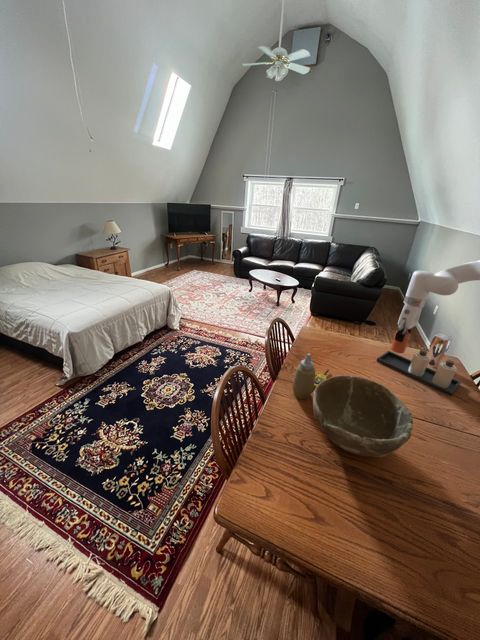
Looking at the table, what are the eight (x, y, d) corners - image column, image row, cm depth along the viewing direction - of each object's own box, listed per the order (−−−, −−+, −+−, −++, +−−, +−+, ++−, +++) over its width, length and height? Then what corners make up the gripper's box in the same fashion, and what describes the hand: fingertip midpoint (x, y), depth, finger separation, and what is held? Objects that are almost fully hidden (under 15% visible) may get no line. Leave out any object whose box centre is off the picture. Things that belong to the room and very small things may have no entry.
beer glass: (422, 365, 124) (434, 337, 117) (423, 359, 129) (434, 331, 123) (440, 371, 120) (453, 342, 114) (440, 364, 125) (453, 336, 119)
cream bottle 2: (450, 384, 111) (461, 362, 106) (446, 390, 107) (456, 367, 103) (434, 377, 115) (444, 355, 110) (429, 382, 111) (439, 360, 107)
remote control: (309, 381, 106) (323, 365, 117) (308, 385, 107) (322, 368, 118) (320, 387, 104) (334, 369, 114) (319, 391, 104) (333, 373, 115)
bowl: (360, 501, 67) (376, 460, 61) (289, 427, 87) (295, 391, 81) (417, 452, 81) (435, 415, 74) (344, 398, 101) (353, 365, 95)
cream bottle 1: (425, 373, 117) (434, 351, 113) (420, 378, 114) (429, 356, 109) (411, 366, 121) (419, 346, 117) (405, 371, 118) (413, 350, 113)
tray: (459, 386, 111) (461, 382, 110) (450, 397, 104) (452, 393, 103) (387, 354, 131) (388, 350, 131) (375, 362, 125) (377, 358, 124)
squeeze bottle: (305, 404, 97) (313, 363, 89) (286, 394, 102) (292, 354, 94) (316, 394, 103) (324, 354, 95) (298, 384, 107) (304, 345, 100)
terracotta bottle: (406, 350, 121) (414, 329, 116) (401, 354, 118) (409, 332, 113) (393, 345, 125) (400, 324, 120) (388, 348, 122) (395, 327, 117)
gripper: (416, 308, 104) (401, 348, 111) (432, 299, 114) (418, 336, 121) (396, 302, 109) (383, 340, 116) (413, 294, 119) (400, 330, 126)
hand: (401, 338), depth 119 cm, fingers closed on terracotta bottle, 5 cm apart
